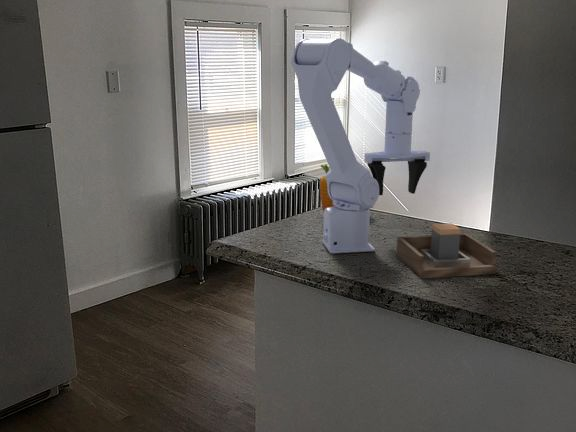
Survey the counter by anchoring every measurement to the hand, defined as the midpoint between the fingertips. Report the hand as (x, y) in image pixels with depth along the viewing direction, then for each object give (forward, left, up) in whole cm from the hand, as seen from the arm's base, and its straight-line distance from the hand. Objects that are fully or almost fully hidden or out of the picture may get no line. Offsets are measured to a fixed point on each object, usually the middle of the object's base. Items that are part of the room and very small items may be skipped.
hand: (395, 193), depth 138 cm
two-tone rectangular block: (+3, -21, -9) cm, 23 cm away
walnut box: (+3, -21, -9) cm, 23 cm away
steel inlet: (+3, -21, -9) cm, 23 cm away
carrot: (-12, +12, -10) cm, 20 cm away
